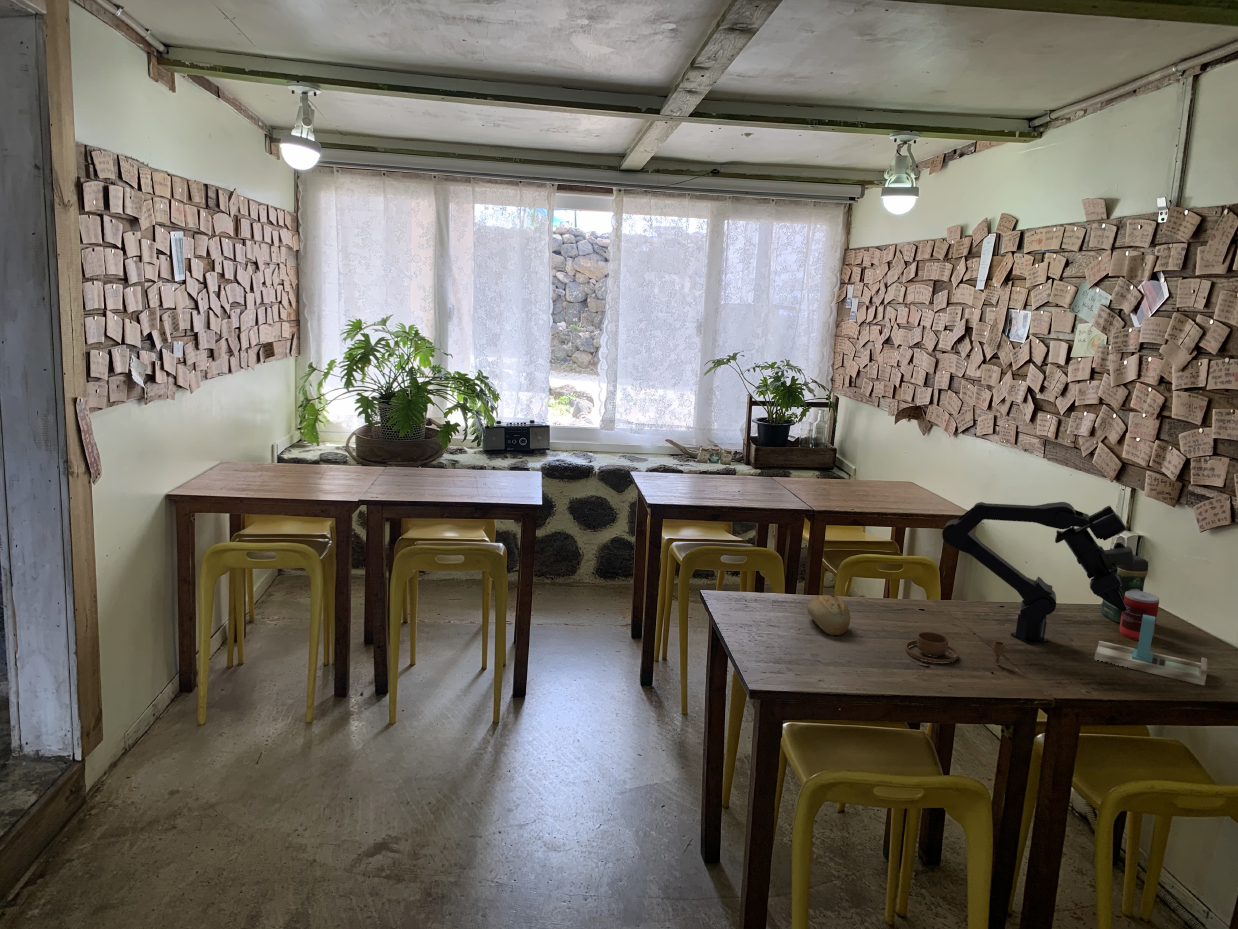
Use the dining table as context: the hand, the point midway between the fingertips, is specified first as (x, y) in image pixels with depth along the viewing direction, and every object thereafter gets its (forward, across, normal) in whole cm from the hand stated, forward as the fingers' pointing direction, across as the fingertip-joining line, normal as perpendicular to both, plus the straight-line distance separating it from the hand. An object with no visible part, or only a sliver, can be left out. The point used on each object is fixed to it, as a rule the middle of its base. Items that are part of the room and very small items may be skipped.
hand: (1123, 605), depth 205 cm
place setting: (-11, -26, +37) cm, 46 cm away
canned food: (+14, +18, +4) cm, 23 cm away
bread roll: (-30, -20, +60) cm, 70 cm away
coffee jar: (+12, +31, +6) cm, 33 cm away
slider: (+12, -3, +3) cm, 13 cm away
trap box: (+14, -3, +3) cm, 15 cm away
